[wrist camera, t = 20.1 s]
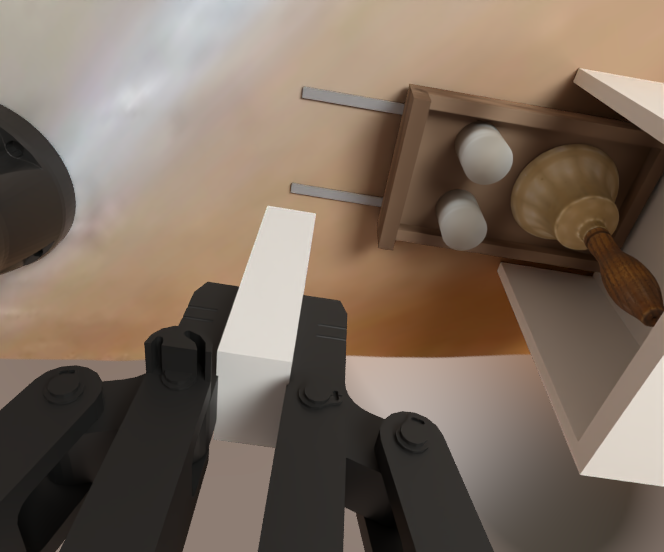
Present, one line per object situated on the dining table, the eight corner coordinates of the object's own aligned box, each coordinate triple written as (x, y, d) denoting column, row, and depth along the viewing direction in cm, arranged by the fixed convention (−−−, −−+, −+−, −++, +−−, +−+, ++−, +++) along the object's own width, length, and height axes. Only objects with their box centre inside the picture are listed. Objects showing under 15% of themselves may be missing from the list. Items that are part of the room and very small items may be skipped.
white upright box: (285, 237, 46) (238, 426, 28) (311, 20, 36) (263, 101, 19) (595, 286, 48) (736, 496, 30) (702, 89, 38) (1010, 228, 20)
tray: (376, 224, 45) (378, 254, 40) (409, 83, 38) (415, 102, 34) (597, 260, 46) (621, 292, 41) (666, 128, 39) (703, 151, 35)
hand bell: (583, 248, 44) (679, 383, 31) (493, 224, 43) (552, 352, 30) (639, 159, 39) (781, 272, 26) (540, 130, 38) (634, 232, 25)
